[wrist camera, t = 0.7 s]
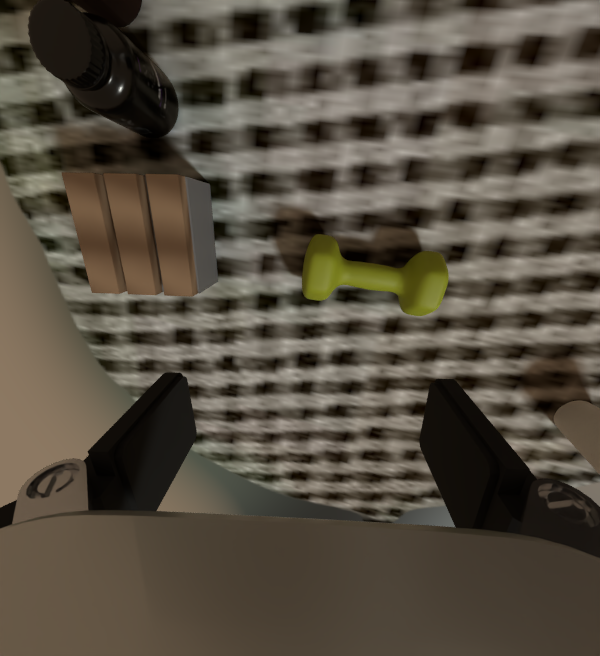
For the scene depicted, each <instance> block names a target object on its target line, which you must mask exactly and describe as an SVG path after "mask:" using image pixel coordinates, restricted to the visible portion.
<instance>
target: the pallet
mask: <svg viewBox="0 0 600 656" xmlns="http://www.w3.org/2000/svg"><path fill="white" fill-rule="evenodd" d="M145 175H146V181H147V187H148V194H149V200H150V206H151V213H152V219H153V225H154V232H155V238H156V244H157V250H158V257H159V263H160V269H161V276H162V282H163V288H164V295H168V296H194V295H196V294H197V293H198V289H197V280H196V271H195V262H194V253H193V244H192V236H191V227H190V218H189V209H188V200H187V191H186V183H185V177H184V176H181V175H178V174H145ZM62 176H63V180H64V184H65V188H66V192H67V196H68V200H69V204H70V208H71V212H72V216H73V220H74V223H75V227H76V231H77V235H78V239H79V243H80V247H81V251H82V255H83V259H84V263H85V267H86V271H87V275H88V278H89V282H90V286H91V290H92V293H115V294H120V293H123V292H125V291H128V294H142V295H157V294H159V293H161V292H163V290H162V284H161V278H160V272H159V265H158V259H157V253H156V247H155V240H154V234H153V228H152V222H151V215H150V209H149V203H148V197H147V190H146V184H145V178H144V176H142V175H138V174H121V173H103V175H100V174H96V173H64V172H62Z"/></svg>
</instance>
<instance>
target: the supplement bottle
mask: <svg viewBox="0 0 600 656" xmlns="http://www.w3.org/2000/svg"><path fill="white" fill-rule="evenodd" d="M28 28H29V33H28V34H29V36H30V43H31V45H32V48H33V51H34V52H35V54H36V57H37V58H38V59H39V60H40V63H41V64H42V65H43V66H44V67H45V68H46V70H47V71H49V72H50V73H52V74H53V75H54V76H55V77H57V78H59V79H60V80H62V81H63V82H64V83H65V85H66V87H67V88H68V90H69V91H70V92H71V94H72V95H73V96H74V97H75V98H76V99H77V100H78V101H79V102H80V103H81V104H82V105H84V106H85V107H87V108H88V109H90V110H92V111H93V112H95V113H97V114H99V115H101V116H103V117H105V118H107V119H109V120H111V121H113V122H115V123H117V124H119V125H121V126H123V127H125V128H127V129H129V130H131V131H133V132H135V133H137V134H140V135H142V136H144V137H148V138H159V137H162V136H164V135H166V134H168V133H169V132H170V131H171V130H172V128H173V127H174V125H175V123H176V120H177V117H178V99H177V95H176V92H175V90H174V87H173V85H172V83H171V82H170V80H169V79H168V78H167V76H166V75H165V74H164V73H163V72H162V71H161V70H160V69H159V68H158V67H157V66H156V65H155V64H154V63H153V62H152V61H151V60H150V59H149V58H148V57H147V56H146V55H145V54H144V53H143V52H142V51H141V50H140V49H139V48H138V47H137V46H136V45H135V44H134V43H133V42H131V41H130V40H129V39H128V38H127V37H126V36H125V35H124V34H123V33H122V32H121V31H120V30H119V29H118V28H117V27H116V26H115V25H114V24H112V23H111V22H110V21H108V20H107V19H105V18H103V17H101V16H99V15H96V14H92V13H81V12H80V11H79V10H78V9H76V8H75V7H74V6H73V5H72V4H71V3H69V2H66V1H65V0H40V1H38V2H37V4H36V5H34V7H33V9H32V10H31V13H30V17H29V24H28Z"/></svg>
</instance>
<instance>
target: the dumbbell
mask: <svg viewBox="0 0 600 656" xmlns="http://www.w3.org/2000/svg"><path fill="white" fill-rule="evenodd" d="M447 284H448V269H447V266H446V263H445V260H444V258H443V256H442V255H441V254H440V253H438V252H432V251H423V252H420V253H418V254H416V255H415V256H414V257H412V258H411V259H410V260H409V261H408V262H407V264H406V265H405V266H404V267H402V268H394V267H390V266H385V265H379V264H374V263H366V262H357V261H348V260H346V259H344V258H343V257H342V256H341V254H340V250H339V246H338V243H337V241H336V240H335V238H333V237H332V236H328V235H323V234H317V235H315V236H314V237H313V238H312V239H311V241H310V243H309V245H308V248H307V251H306V254H305V259H304V265H303V273H302V290H303V294H304V296H305V297H306V298H308V299H312V300H324V299H326V298H327V297H328V296H329V295H330V294H331V292H332V291H333V290H334V289H335V288H336V287H337V286H339V285H350V286H354V287H359V288H363V289H369V290H378V291H389V292H394V293H396V294H397V295H398V297H399V303H400V307H401V309H402V311H403V312H405V313H406V314H409V315H415V316H423V315H426V314H429V313H431V312H433V311H435V310H436V309H437V308H438V307H439V305H440V304H441V301H442V299H443V296H444V293H445V290H446V287H447Z"/></svg>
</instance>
